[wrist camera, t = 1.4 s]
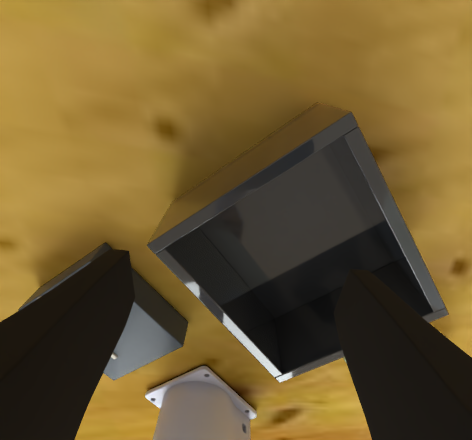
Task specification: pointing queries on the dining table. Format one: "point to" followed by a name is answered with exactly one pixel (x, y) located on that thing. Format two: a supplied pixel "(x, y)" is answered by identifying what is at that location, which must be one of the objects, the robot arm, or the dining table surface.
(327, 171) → the black storage bin
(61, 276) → the rotary dial base
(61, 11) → the dining table surface
